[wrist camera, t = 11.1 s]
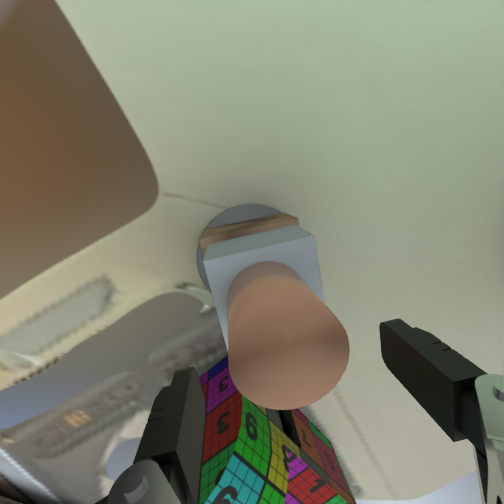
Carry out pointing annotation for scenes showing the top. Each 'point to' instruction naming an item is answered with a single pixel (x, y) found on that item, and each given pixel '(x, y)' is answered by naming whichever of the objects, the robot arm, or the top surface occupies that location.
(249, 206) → the slate coaster
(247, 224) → the walnut base block
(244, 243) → the grey-blue top block
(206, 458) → the numbered checker block
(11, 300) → the top surface
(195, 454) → the robot arm
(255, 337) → the peach rounded cylinder
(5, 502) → the portable speaker
